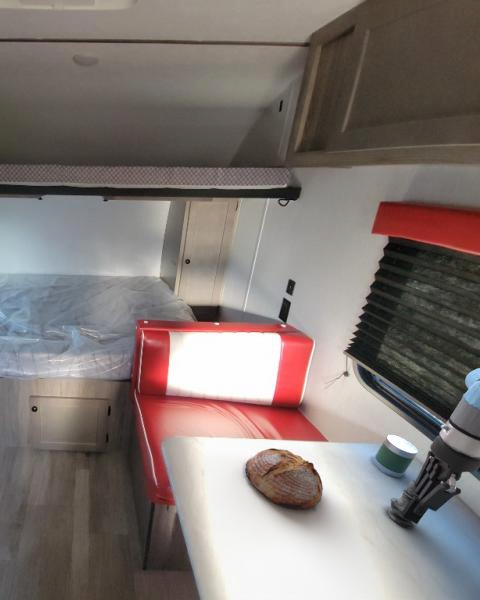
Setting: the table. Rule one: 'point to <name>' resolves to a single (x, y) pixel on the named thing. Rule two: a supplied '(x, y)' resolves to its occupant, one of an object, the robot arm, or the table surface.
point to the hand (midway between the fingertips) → (409, 518)
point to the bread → (285, 478)
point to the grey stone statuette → (402, 505)
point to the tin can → (395, 456)
